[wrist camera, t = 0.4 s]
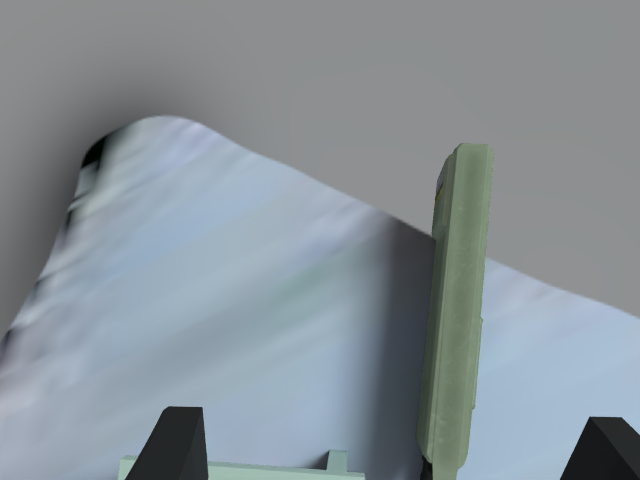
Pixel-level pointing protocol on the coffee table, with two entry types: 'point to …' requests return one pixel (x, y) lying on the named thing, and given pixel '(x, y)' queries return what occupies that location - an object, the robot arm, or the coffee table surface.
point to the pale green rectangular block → (267, 470)
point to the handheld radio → (454, 310)
